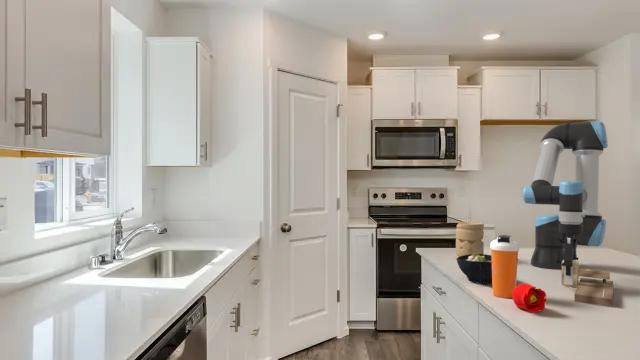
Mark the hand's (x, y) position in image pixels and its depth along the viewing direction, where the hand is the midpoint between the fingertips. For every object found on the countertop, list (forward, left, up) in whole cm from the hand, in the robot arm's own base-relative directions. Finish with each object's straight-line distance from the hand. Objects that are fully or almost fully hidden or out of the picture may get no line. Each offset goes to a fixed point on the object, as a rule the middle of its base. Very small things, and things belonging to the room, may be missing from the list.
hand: (570, 280), depth 156 cm
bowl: (-29, -12, -2) cm, 31 cm away
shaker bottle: (-17, -28, -2) cm, 33 cm away
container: (-44, +27, -2) cm, 52 cm away
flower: (-8, -40, -2) cm, 41 cm away
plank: (+8, -8, -2) cm, 11 cm away
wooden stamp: (+5, 0, -2) cm, 5 cm away
